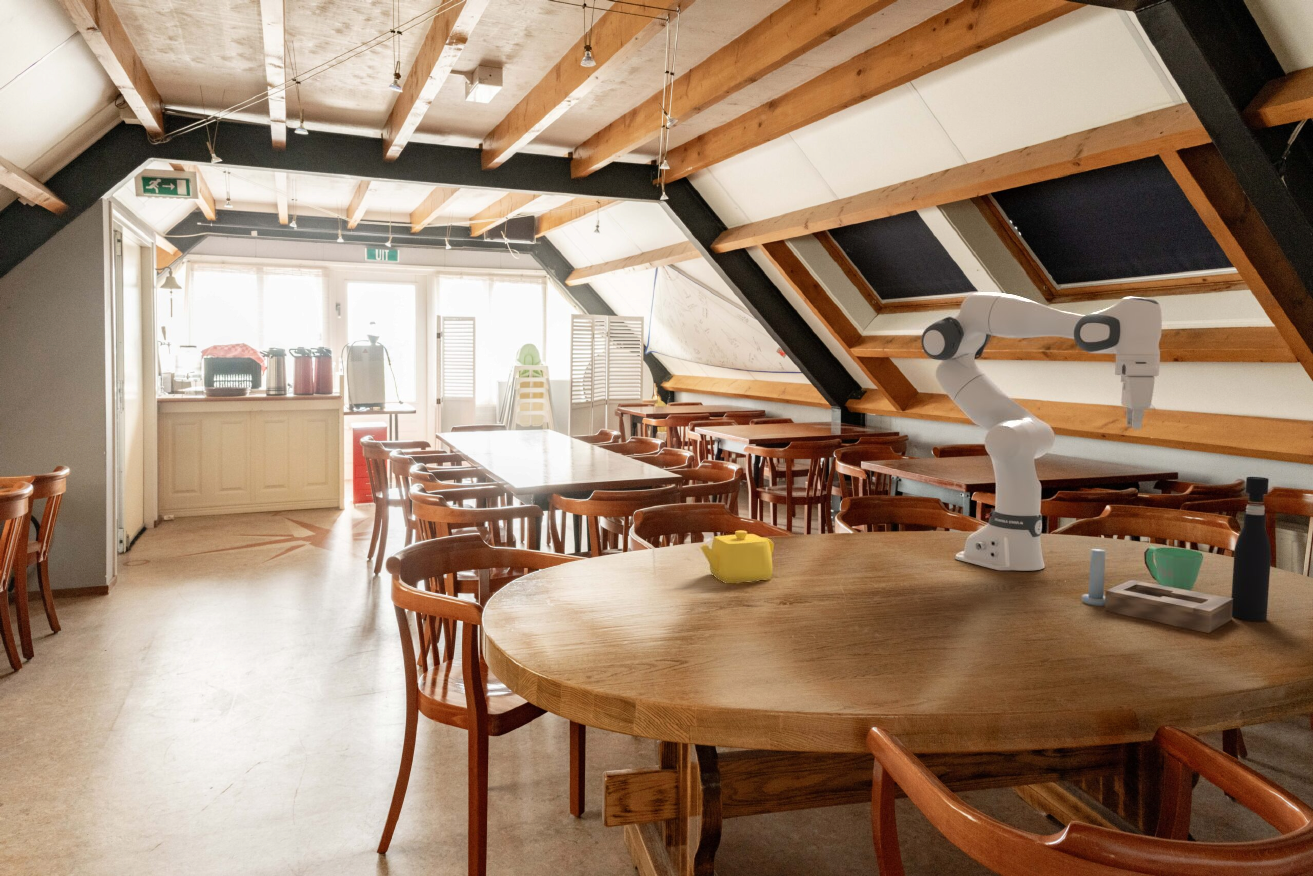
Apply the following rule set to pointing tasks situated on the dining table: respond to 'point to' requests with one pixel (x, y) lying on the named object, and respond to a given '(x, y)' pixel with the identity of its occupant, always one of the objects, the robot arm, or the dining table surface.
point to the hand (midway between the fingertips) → (1133, 427)
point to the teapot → (740, 557)
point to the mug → (1174, 566)
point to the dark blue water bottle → (1252, 558)
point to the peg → (1096, 579)
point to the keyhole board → (1169, 605)
